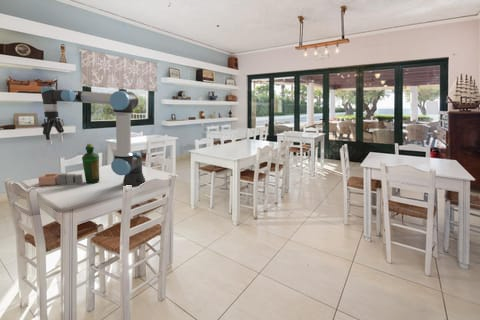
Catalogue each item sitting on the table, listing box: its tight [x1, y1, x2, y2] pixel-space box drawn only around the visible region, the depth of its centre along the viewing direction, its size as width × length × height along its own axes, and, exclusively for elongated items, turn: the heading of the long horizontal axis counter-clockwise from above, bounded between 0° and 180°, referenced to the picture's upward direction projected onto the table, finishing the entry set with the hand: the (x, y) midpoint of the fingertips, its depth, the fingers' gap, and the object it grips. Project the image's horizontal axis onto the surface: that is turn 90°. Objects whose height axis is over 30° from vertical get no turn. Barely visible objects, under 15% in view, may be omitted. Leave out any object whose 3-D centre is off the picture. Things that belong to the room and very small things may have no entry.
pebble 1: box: [58, 172, 69, 185], centre depth 193 cm, size 4×4×7 cm
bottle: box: [81, 143, 100, 185], centre depth 196 cm, size 11×11×28 cm
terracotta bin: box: [37, 172, 62, 187], centre depth 192 cm, size 10×10×6 cm
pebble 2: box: [74, 173, 84, 185], centre depth 195 cm, size 4×4×6 cm
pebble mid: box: [66, 173, 76, 185], centre depth 194 cm, size 4×4×6 cm
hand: (55, 143), depth 181 cm, fingers open, 13 cm apart
